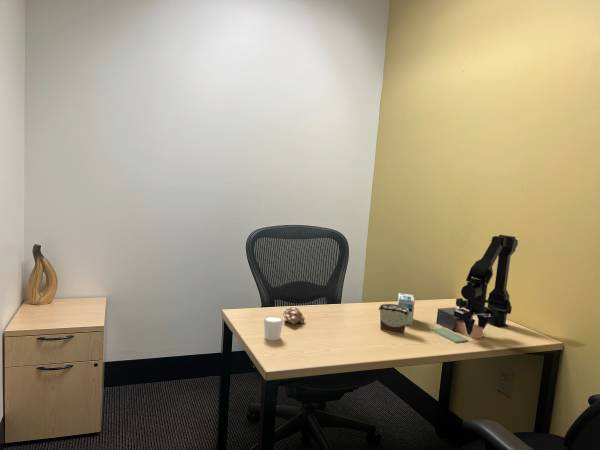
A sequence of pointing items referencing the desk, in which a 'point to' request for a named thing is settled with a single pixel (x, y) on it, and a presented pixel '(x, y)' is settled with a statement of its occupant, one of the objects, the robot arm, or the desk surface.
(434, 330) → the green block
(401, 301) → the light bulb box
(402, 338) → the desk surface
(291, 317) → the mineral specimen
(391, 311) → the food container
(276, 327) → the white cylinder
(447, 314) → the dispenser
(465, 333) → the pink block
